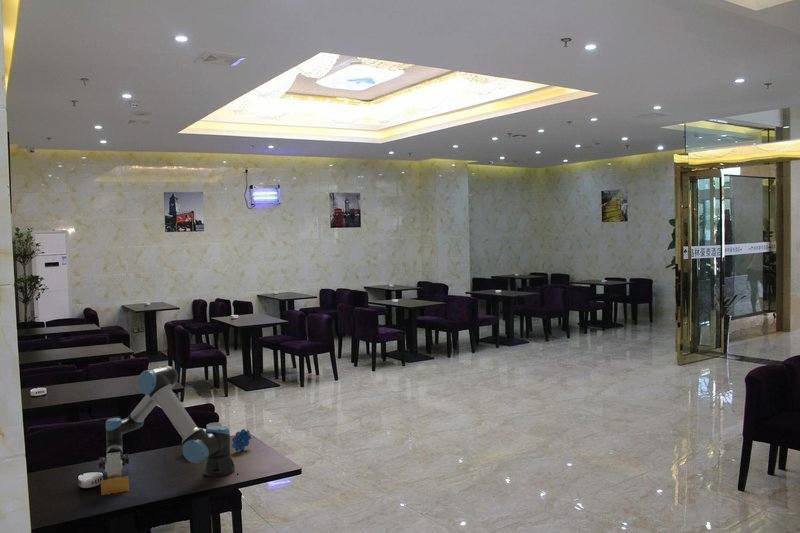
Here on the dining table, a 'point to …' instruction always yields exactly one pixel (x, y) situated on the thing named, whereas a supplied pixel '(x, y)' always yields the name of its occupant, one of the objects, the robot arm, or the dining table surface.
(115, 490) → the orange rectangular block
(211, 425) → the mug
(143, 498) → the dining table surface
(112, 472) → the aluminium block
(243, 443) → the grapes
